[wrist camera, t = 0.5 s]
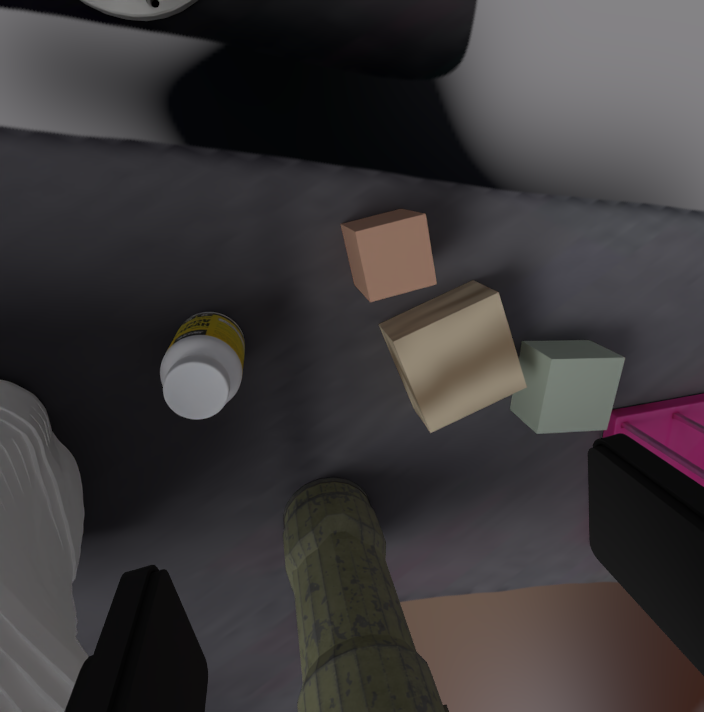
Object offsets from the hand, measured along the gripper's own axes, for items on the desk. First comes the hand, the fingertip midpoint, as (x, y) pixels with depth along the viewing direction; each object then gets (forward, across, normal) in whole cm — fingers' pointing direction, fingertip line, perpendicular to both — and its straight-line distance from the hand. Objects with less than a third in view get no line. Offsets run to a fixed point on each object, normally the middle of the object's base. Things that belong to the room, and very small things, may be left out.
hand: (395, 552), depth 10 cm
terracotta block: (+31, -7, -2) cm, 31 cm away
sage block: (+31, -22, +14) cm, 40 cm away
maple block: (+31, -11, +8) cm, 34 cm away
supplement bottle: (+31, +8, +3) cm, 32 cm away
